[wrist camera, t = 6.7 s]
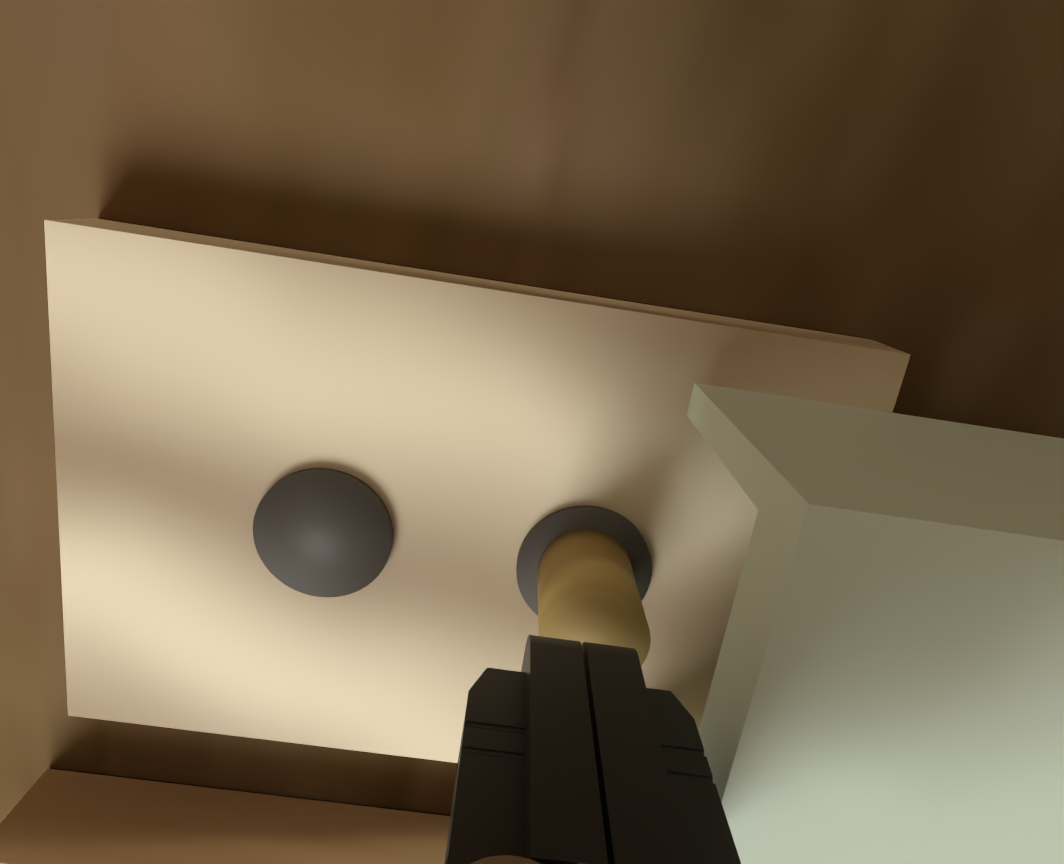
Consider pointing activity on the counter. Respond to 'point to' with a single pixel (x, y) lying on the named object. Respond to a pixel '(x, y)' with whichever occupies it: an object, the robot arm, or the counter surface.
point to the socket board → (205, 826)
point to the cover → (889, 638)
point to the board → (386, 482)
